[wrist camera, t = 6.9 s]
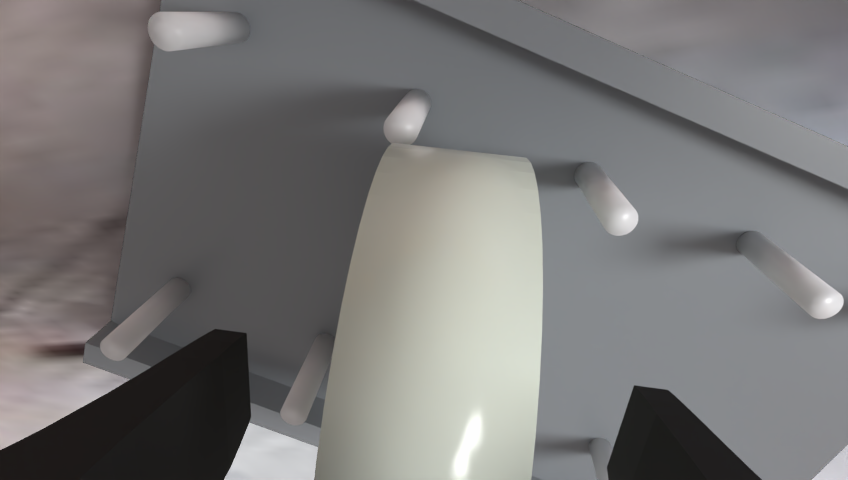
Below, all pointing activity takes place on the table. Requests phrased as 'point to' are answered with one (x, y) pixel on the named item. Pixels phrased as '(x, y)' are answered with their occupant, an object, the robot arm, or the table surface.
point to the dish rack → (559, 205)
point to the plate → (439, 324)
